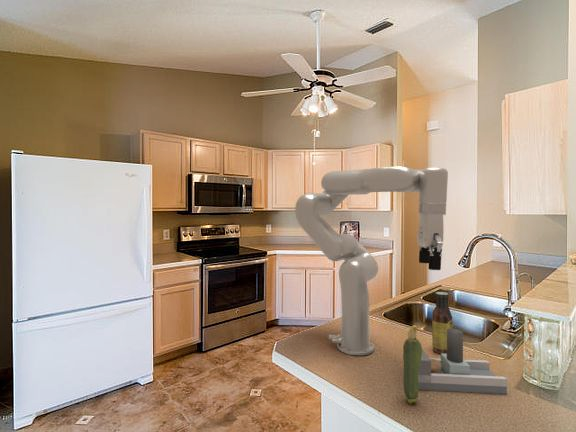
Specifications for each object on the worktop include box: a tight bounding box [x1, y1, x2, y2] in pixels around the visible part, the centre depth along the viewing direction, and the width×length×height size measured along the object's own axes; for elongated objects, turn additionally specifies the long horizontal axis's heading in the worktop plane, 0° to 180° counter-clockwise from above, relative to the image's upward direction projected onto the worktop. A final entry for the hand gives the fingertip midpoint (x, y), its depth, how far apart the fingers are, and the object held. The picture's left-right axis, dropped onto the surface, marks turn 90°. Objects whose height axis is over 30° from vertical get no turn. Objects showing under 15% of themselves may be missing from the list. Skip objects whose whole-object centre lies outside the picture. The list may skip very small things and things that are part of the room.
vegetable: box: [402, 324, 423, 405], centre depth 80 cm, size 4×4×20 cm
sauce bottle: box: [431, 291, 454, 355], centre depth 107 cm, size 6×6×20 cm
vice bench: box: [418, 348, 508, 395], centre depth 89 cm, size 23×10×8 cm, turn 84°
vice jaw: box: [440, 328, 470, 375], centre depth 88 cm, size 5×7×12 cm
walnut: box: [430, 359, 441, 374], centre depth 89 cm, size 4×4×3 cm
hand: (429, 266), depth 95 cm, fingers open, 9 cm apart
